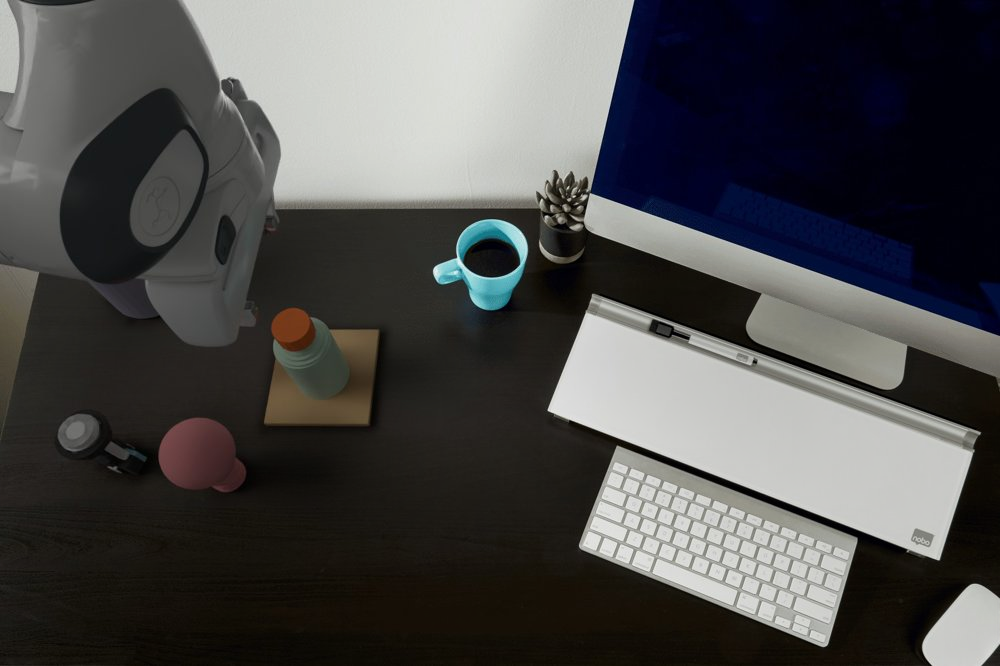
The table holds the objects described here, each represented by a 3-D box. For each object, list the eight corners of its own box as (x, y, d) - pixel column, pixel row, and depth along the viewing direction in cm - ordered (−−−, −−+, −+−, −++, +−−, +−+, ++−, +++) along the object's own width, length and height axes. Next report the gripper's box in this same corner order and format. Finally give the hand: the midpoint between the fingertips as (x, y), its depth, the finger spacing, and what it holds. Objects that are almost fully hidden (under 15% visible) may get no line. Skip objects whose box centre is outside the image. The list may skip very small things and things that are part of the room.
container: (187, 316, 90) (126, 248, 77) (105, 323, 90) (30, 256, 77) (198, 247, 95) (141, 172, 82) (120, 254, 95) (51, 180, 82)
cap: (313, 352, 74) (307, 342, 73) (275, 352, 75) (267, 342, 73) (318, 317, 76) (312, 307, 74) (281, 318, 77) (274, 307, 75)
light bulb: (190, 464, 81) (137, 427, 71) (250, 435, 82) (207, 395, 72) (208, 521, 78) (155, 491, 68) (270, 490, 79) (228, 456, 69)
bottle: (346, 399, 83) (317, 354, 72) (293, 399, 83) (256, 354, 73) (352, 350, 86) (325, 300, 75) (301, 351, 86) (267, 300, 76)
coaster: (369, 426, 82) (368, 424, 81) (266, 426, 83) (263, 423, 82) (380, 332, 88) (378, 329, 87) (282, 332, 88) (280, 329, 88)
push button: (83, 474, 81) (27, 445, 72) (107, 430, 84) (55, 397, 75) (135, 488, 80) (84, 461, 71) (158, 444, 83) (111, 412, 74)
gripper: (188, 62, 57) (248, 178, 69) (111, 287, 47) (196, 375, 59) (268, 63, 56) (314, 179, 69) (206, 290, 47) (272, 377, 59)
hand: (259, 272), depth 64 cm, fingers open, 8 cm apart
